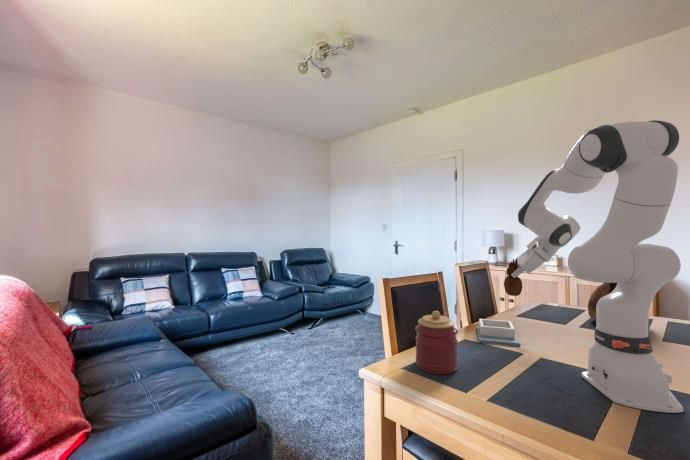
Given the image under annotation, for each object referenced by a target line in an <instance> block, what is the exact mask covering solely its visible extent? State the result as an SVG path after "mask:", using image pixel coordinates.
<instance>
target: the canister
mask: <svg viewBox="0 0 690 460" xmlns="http://www.w3.org/2000/svg"><path fill="white" fill-rule="evenodd" d="M417 323H418V324H417V325H416V326H415V331H416V336H415V351H416V352H415V362H416V363H415V364H416V366H417V368H419V370H422V372H426V373H429V374H433V375H449V374H453V373H454V372H456V371H457V370H458V366H459V363H458V362H459V360H458V343H459V342H458V339H457V334H458V333H459V332H458V329H457V328H456V327H455V324H456V323H455V321H453V320H452V319H450V317H448V316H445V315H441V313H440V312H439V311H438V310H433V311H432V312H431V314H426V315H423V316H422V317H421V318H419V319H418V320H417Z"/></svg>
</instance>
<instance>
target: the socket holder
mask: <svg viewBox="0 0 690 460" xmlns="http://www.w3.org/2000/svg"><path fill="white" fill-rule="evenodd" d="M478 322H479V323H478V325H476V333H477V337H478V338H477V339H478V343H479V342H483V343H482V344H487V343H493V344H492V345H497V344H500V345H501V346H507V345H509V346H510V347H517V348H518V347H520V348H521V341H520V340H519V338H518V336H517V334H516V331H515V330H516V329H515V326H514V325H513V323H512V321H511V320H503V319H502V320H500V319H486V318H485V319H484V318H479V321H478ZM500 345H499V346H500Z"/></svg>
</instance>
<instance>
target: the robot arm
mask: <svg viewBox="0 0 690 460" xmlns="http://www.w3.org/2000/svg"><path fill="white" fill-rule="evenodd" d="M679 143H680V133H679V130H678V128H677V127H676V125H674V124H673V123H671V122H667V121H664V120H647V121H623V122H617V123H612V124H611V123H610V124H603V125H602V124H601V125H599V126H596V127H594V128H591V129H589V130H588V131H586V132H585V133H584V134H583V135H582V136H581V137H580V138H579V139H578V140H577V142H576V143H575V144H574V146H573V147H572V149H571V150H570V151H569V154H568V155H567V157H566V159H565V161H564V163H563V165H562V166H561V167H560V168H555V169H552V170H551V171H549V172H548V174H546V175H545V176H544V177H543V179H542V180H541V181H540V183H539V184H538V185H537V187H536V189H534V191H533V192H532V194H531V196H529V199H528V200H527V201H526V202H525V203H524V205H522V207H521V208H519V211H518V213H517V219H518V220H517V221H518V223H519V224H521V225H522V226H524V227H525V228H527V229H529V230H530V231H531V232H532V233H533V234H535V235H536V237H535V238H534V239H532V240H531V241H530V242H529V243H528V244H527V245H526V248H527V249H526V250H525V251H524V252H522V253H521V254H520V255H519V256H518V257H516V258H517V265H518V269H517V270H515V271H514V272H513V273H511V276H512V277H514V278H515V277H519V276H520V275H521V274H523V273H524V272H526V273H527V274H530V273H532V272H534V271H535V270H537V269H539V267H540V266H542V265H543V264H544V263H548V262H550V261H551V260H552V258H553V256H554V255H556V254H557V252H558V251H559V250H560V249H561V248H563V247H565V246H566V245H568V243H569V242H571V241H572V240H573V239H574V238H575V236H576V235H577V234H578V233H579V232H580V230H581V225H580V224H579V222H578V221H577V220H576V219H575V218H573V217H572V216H570V215H566V214H565V215H562V216H559V215H557V213H555V212H553V211H552V210H550V209H549V208H548V207H547V206H546V205H545V202H546V201H547V200H548V198H549V197H550V195H552V193H553V191H559V192H563V193H567V194H584V193H588V192H591V190H593V189H595V188H596V187H597V186H598V185H599V184H600V183H601V181H602V180H603V178H604V176H605V175H606V174H608V173H612V172H614V171H615V172H616V174H617V176H618V182H617V186H616V188H615V192H614V194H613V198H612V201H611V202H612V203H611V205H610V208H609V211H608V214H607V217H606V219H605V221H604V223H603V225H602V226H601V227H600V228H599V230H597V232H596V233H595V234H594V235H592V237H590V238H589V239H587V240H586V241H584V242H583V243H581V244H580V245H577V246H575V247H574V248H573V249H572V250H571V251H570V252H569V255H568V258H567V266H568V267H567V268H568V269H569V271H570V273H571V274H572V275H573V277H574V278H576V279H578V280H582V281H587V282H590V283H591V282H593V283H602V284H603V283H617V286H616V288H615V289H614V290H613V291H612V292H611V293H610V294H608V295H606V296H604V297H602V298H600V299H599V301H598V302H597V305H596V320H595V321H596V323H595V324H596V327H594V332H593V335H594V341H595V342H594V343H593V345H592V346H591V347H590V348H588V355H587V356H588V357H587V368H586V369H587V370H585V371H582V372H581V377H582V378H583V379H584V380H585V381H586V382H588V383H589V384H590V385H591V386H593V387H594V388H596V389H597V390H598V391H599V392H601V393H602V394H603V395H604V396H605V397H607V398H608V399H610V401H612V402H614V403H616V404H620V405H622V406H627V407H630V408H633V409H634V408H635V409H640V410H644V411H651V412H660V413H672V414H673V413H674V414H675V413H683V412H684V407H683V405H682V404H681V403H680V401H679V400H678V398H677V397H676V396H675V395H674V394H673V393H672V392H671V390H670V388H669V387H670V385H669V384H672V382H673V378H672V377H673V376H672V375H671V374H670V373H668V372H666V373H665V372H664V371H663V369H662V366H663V365H662V363H659V362H658V361H657V360H656V357H655V356H654V354H653V351H654V350H653V349H654V348H653V346H652V345H653V342H652V339H651V337H650V335H649V315H650V308H651V305H652V302H653V299H654V298H655V296H656V295H657V294H658V292H659V291H660V289H661V288H663V286H665V285H666V284H667V283H669V282H670V281H673V280H674V279H675V278H677V276H678V275H679V274H680V271H681V267H682V265H681V264H682V263H681V259H680V257H679V256H678V254H677V253H676V252H675V251H674V250H673V249H672V248H670V247H668V246H664V245H658V244H651V243H642V242H643V241H645V240H647V239H650V238H652V237H653V236H655V235H657V234H658V233H659V232H660V231H661V230H662V229H663V225H664V223H665V221H666V218H667V215H668V212H669V209H670V207H671V204H672V201H673V199H674V195H675V191H676V186H677V180H678V172H679V166H678V163H677V161H675V160H674V159H673V158H671V157H669V156H670V155H671V154H672V153H674V151H675V150H676V149H677V147H678V145H679ZM516 258H514V262H515V261H516ZM518 275H519V276H518Z"/></svg>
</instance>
